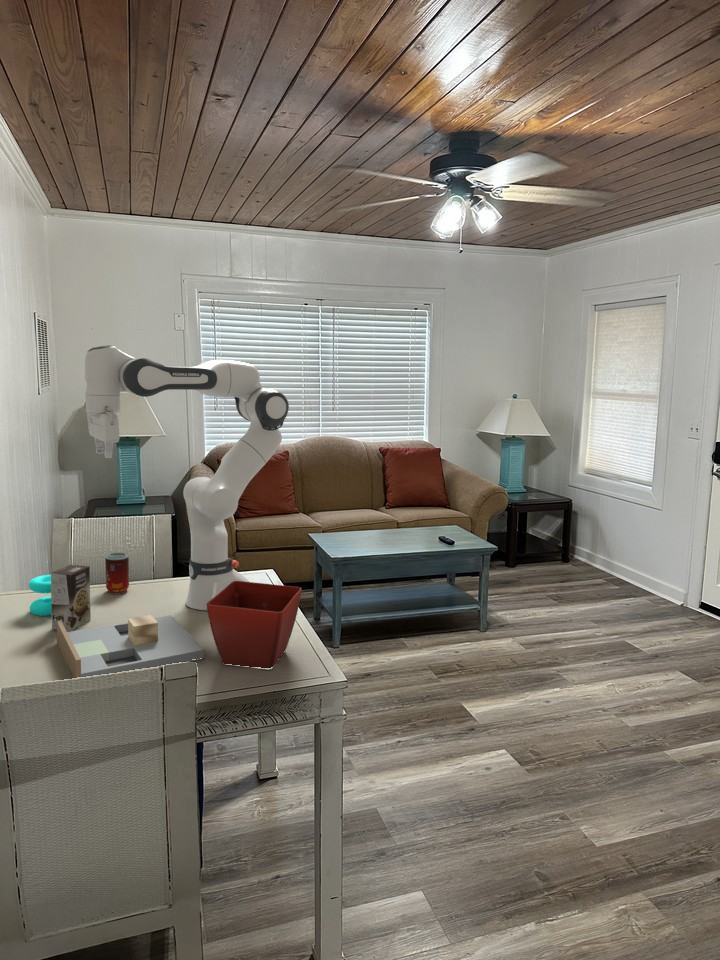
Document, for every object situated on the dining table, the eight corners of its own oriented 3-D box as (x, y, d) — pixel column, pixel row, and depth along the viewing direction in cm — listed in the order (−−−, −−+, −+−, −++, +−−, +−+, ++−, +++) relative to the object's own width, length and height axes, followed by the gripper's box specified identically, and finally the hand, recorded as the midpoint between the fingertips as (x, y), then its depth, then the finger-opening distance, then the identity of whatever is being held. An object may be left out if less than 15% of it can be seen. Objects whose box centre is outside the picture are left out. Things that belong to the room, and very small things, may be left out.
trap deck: (171, 623, 190) (171, 603, 189) (204, 659, 167) (204, 636, 166) (57, 642, 173) (56, 620, 172) (76, 685, 151) (76, 660, 150)
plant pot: (280, 679, 158) (281, 611, 155) (204, 670, 161) (204, 603, 159) (301, 647, 177) (302, 586, 174) (232, 640, 180) (233, 580, 177)
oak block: (151, 633, 176) (151, 615, 175) (158, 641, 171) (157, 622, 170) (128, 637, 173) (128, 618, 172) (134, 645, 168) (134, 626, 167)
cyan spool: (73, 577, 195) (42, 586, 187) (74, 610, 197) (43, 619, 189) (52, 571, 201) (21, 579, 192) (53, 603, 202) (22, 612, 194)
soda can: (104, 589, 216) (104, 552, 214) (127, 586, 219) (127, 550, 217) (107, 596, 210) (106, 558, 208) (130, 593, 213) (130, 556, 211)
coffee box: (72, 632, 181) (70, 574, 178) (51, 629, 182) (49, 572, 180) (91, 620, 190) (90, 565, 187) (71, 617, 191) (70, 563, 188)
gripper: (124, 408, 174) (125, 460, 177) (106, 403, 191) (107, 451, 193) (99, 408, 171) (101, 461, 173) (82, 403, 188) (84, 451, 190)
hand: (104, 455), depth 183 cm, fingers open, 8 cm apart
